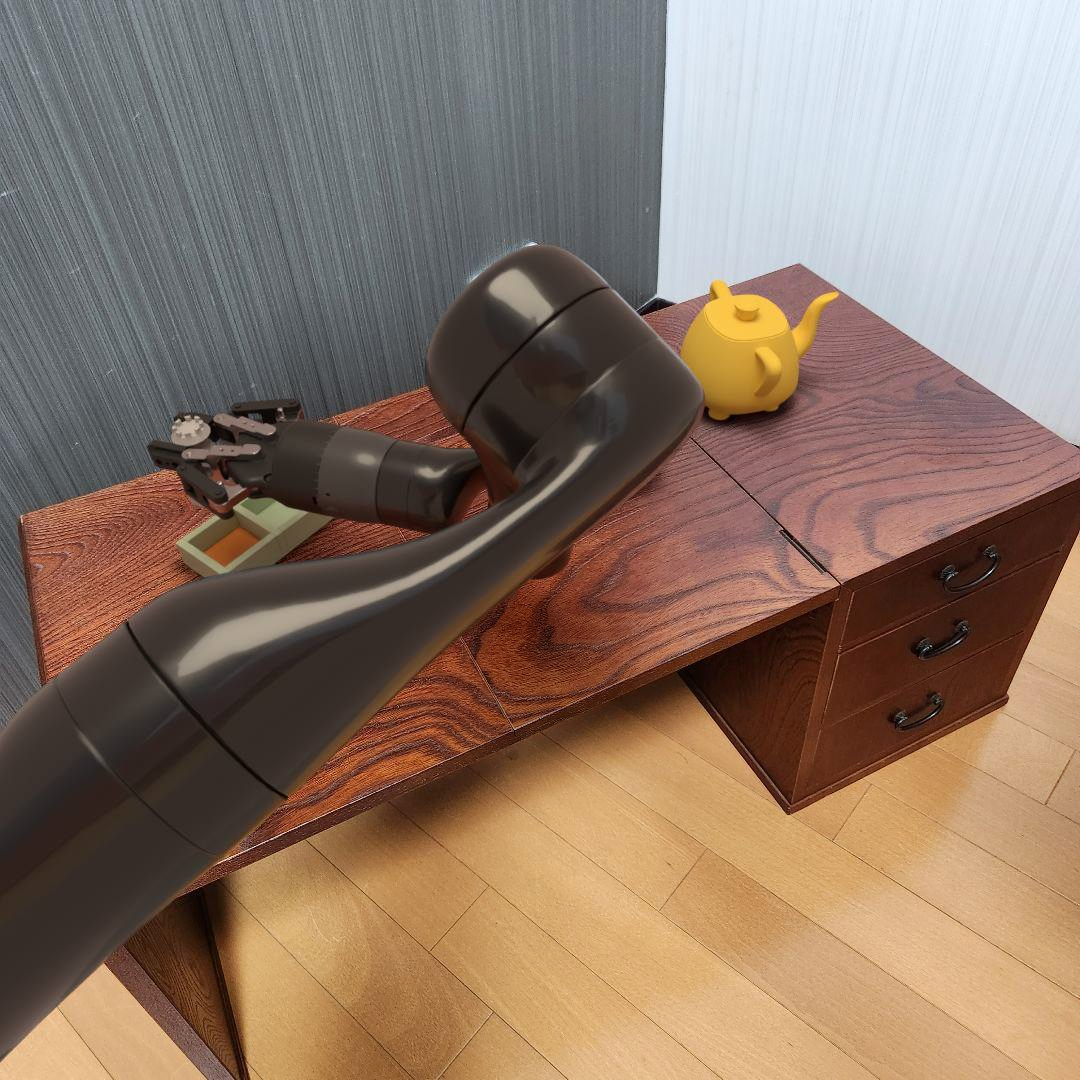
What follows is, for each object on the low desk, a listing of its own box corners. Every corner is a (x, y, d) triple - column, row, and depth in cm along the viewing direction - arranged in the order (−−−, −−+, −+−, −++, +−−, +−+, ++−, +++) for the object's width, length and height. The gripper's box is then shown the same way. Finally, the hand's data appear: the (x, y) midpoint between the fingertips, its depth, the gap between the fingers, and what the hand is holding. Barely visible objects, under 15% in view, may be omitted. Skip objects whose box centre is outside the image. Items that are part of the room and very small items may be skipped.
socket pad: (231, 597, 86) (223, 576, 84) (184, 563, 90) (175, 542, 87) (336, 515, 94) (331, 494, 92) (289, 487, 97) (283, 466, 95)
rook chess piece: (250, 491, 84) (225, 421, 78) (208, 518, 82) (179, 448, 76) (221, 471, 86) (194, 401, 80) (179, 497, 84) (149, 427, 78)
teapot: (777, 449, 99) (796, 355, 90) (655, 409, 104) (662, 318, 96) (820, 379, 107) (840, 288, 98) (704, 346, 112) (714, 256, 104)
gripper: (373, 385, 78) (196, 355, 82) (292, 496, 69) (97, 455, 73) (387, 453, 83) (221, 422, 87) (314, 564, 74) (131, 523, 78)
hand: (166, 437), depth 80 cm, fingers closed on rook chess piece, 3 cm apart
